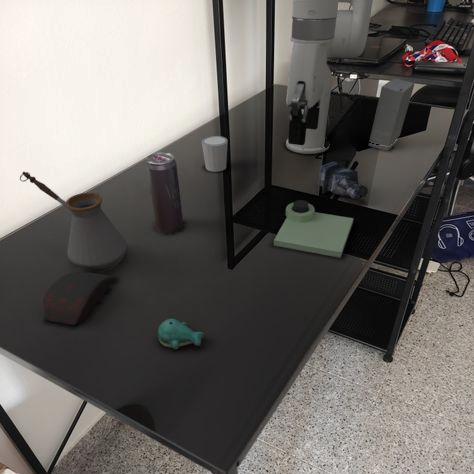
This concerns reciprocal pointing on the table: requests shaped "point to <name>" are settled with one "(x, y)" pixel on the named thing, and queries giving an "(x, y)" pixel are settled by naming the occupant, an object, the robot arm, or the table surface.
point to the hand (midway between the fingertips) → (303, 135)
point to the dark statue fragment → (341, 181)
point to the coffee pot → (89, 231)
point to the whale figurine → (178, 334)
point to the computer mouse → (74, 296)
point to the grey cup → (215, 153)
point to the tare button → (300, 206)
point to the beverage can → (165, 191)
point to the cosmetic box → (390, 113)
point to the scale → (314, 232)
